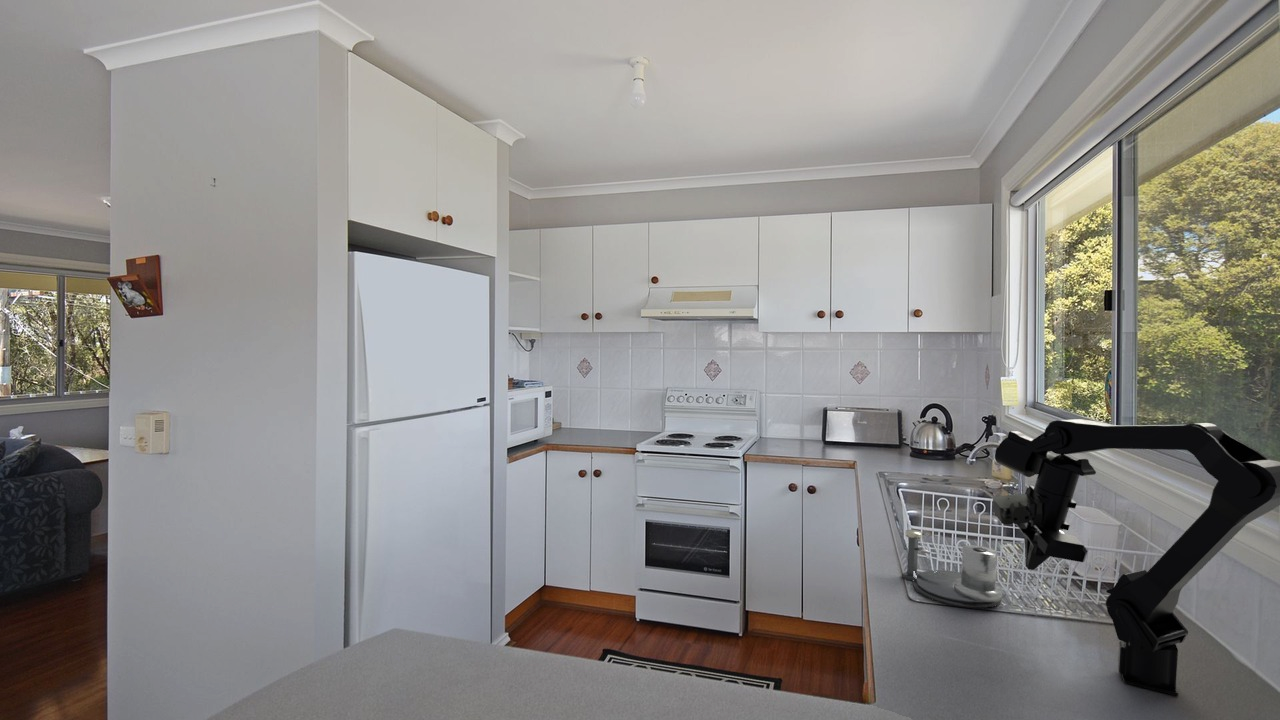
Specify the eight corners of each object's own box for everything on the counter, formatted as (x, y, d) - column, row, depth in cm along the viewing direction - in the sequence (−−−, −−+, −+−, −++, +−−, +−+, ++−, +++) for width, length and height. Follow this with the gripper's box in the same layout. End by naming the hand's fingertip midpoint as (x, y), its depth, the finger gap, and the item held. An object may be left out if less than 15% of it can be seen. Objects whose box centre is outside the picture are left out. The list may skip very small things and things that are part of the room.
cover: (1003, 591, 130) (1005, 548, 130) (1000, 605, 123) (1002, 559, 123) (956, 581, 134) (958, 540, 134) (951, 595, 127) (953, 550, 127)
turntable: (1003, 588, 136) (1004, 580, 136) (998, 615, 123) (998, 606, 123) (920, 572, 145) (921, 564, 145) (906, 595, 131) (907, 586, 131)
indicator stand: (900, 577, 141) (902, 531, 141) (908, 574, 143) (910, 528, 143) (924, 585, 137) (927, 537, 137) (932, 581, 139) (934, 534, 139)
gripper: (986, 460, 124) (965, 534, 127) (1027, 504, 106) (1002, 589, 109) (1048, 470, 122) (1025, 545, 126) (1101, 517, 104) (1073, 602, 108)
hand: (1029, 568), depth 117 cm, fingers closed
